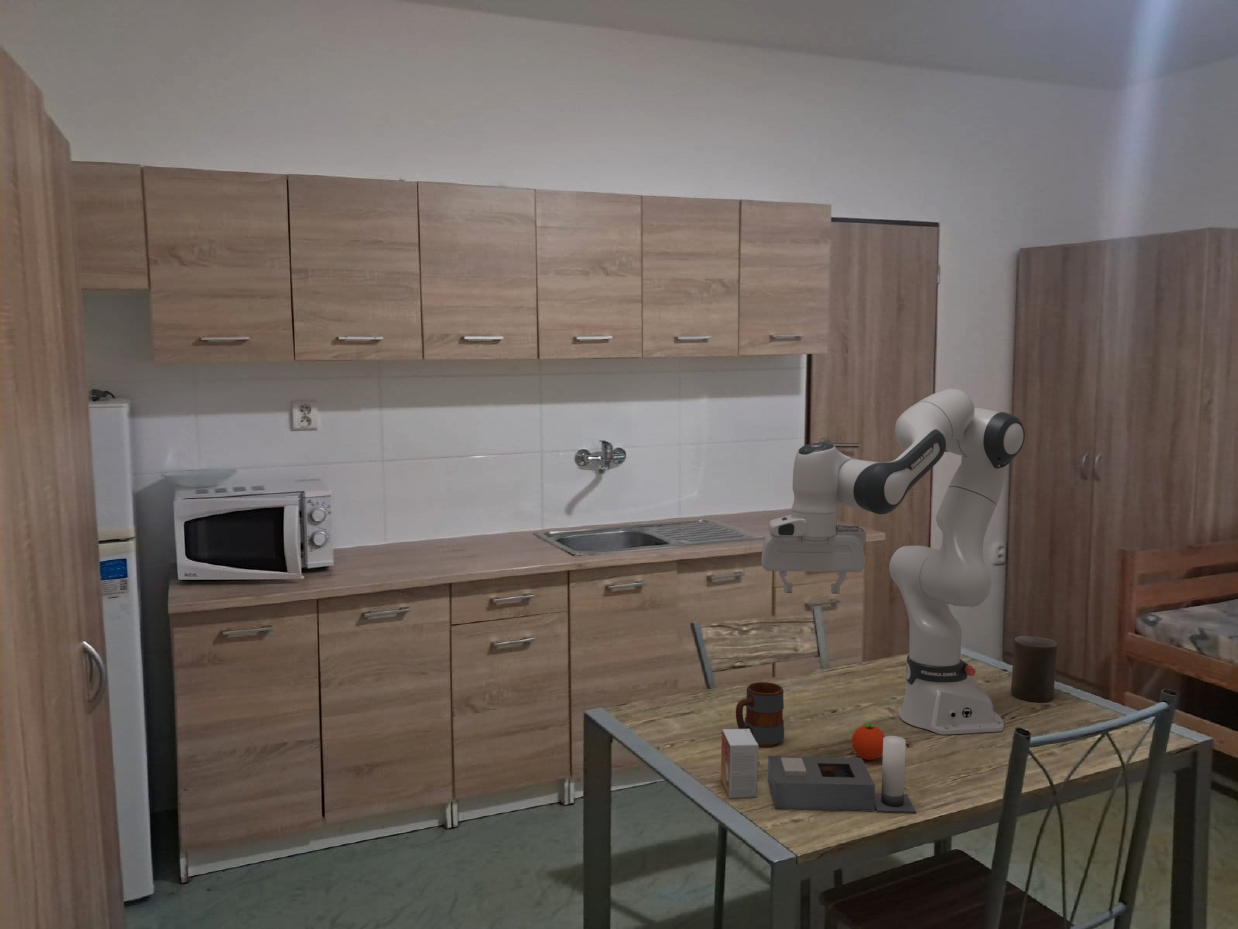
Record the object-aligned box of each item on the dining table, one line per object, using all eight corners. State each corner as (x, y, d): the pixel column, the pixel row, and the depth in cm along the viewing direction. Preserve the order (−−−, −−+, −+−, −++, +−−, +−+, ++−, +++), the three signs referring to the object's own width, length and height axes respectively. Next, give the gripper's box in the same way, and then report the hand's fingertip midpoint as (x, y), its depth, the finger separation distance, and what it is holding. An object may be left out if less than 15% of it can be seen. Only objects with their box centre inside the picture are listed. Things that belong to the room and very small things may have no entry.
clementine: (847, 749, 210) (848, 716, 209) (880, 750, 210) (881, 717, 209) (854, 765, 202) (856, 731, 202) (889, 766, 202) (890, 732, 201)
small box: (720, 780, 195) (721, 728, 194) (748, 779, 195) (749, 727, 194) (728, 799, 187) (729, 745, 186) (757, 798, 188) (758, 744, 186)
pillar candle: (1037, 705, 237) (1042, 644, 235) (1002, 693, 245) (1006, 633, 243) (1062, 698, 242) (1066, 638, 240) (1026, 686, 250) (1030, 628, 248)
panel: (860, 782, 194) (861, 753, 194) (873, 811, 183) (875, 779, 182) (767, 780, 195) (768, 751, 194) (775, 808, 183) (775, 777, 182)
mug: (722, 740, 214) (724, 688, 213) (765, 729, 221) (767, 678, 219) (748, 754, 207) (750, 700, 206) (792, 742, 213) (793, 690, 212)
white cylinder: (900, 797, 187) (902, 736, 186) (905, 807, 183) (908, 744, 182) (879, 797, 187) (881, 735, 186) (883, 806, 183) (885, 744, 182)
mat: (906, 796, 189) (906, 794, 189) (916, 813, 182) (916, 811, 182) (869, 795, 189) (869, 793, 189) (877, 812, 182) (877, 810, 182)
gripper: (863, 522, 201) (860, 589, 203) (761, 521, 202) (759, 588, 204) (869, 528, 195) (867, 597, 197) (764, 527, 196) (763, 596, 198)
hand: (811, 592), depth 200 cm, fingers open, 8 cm apart
